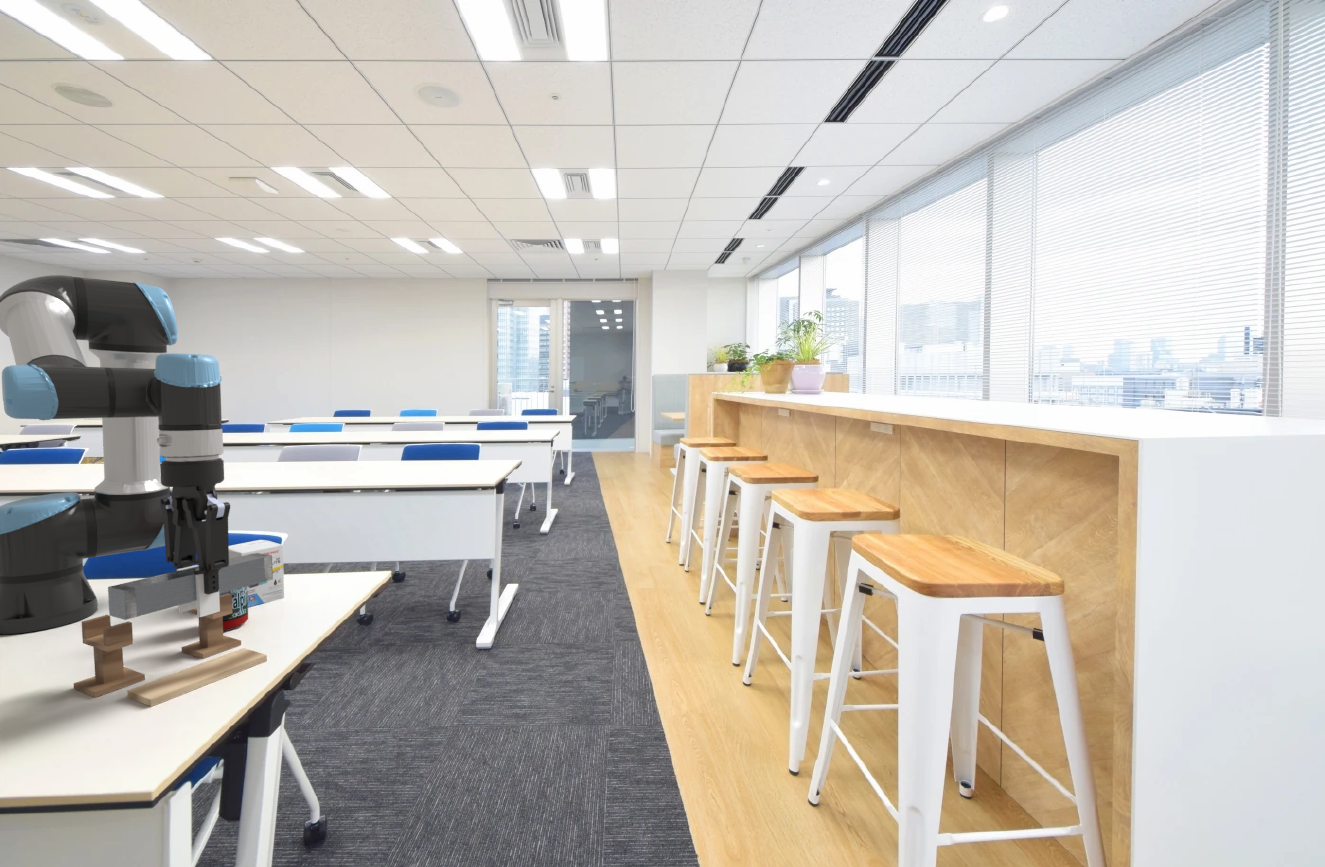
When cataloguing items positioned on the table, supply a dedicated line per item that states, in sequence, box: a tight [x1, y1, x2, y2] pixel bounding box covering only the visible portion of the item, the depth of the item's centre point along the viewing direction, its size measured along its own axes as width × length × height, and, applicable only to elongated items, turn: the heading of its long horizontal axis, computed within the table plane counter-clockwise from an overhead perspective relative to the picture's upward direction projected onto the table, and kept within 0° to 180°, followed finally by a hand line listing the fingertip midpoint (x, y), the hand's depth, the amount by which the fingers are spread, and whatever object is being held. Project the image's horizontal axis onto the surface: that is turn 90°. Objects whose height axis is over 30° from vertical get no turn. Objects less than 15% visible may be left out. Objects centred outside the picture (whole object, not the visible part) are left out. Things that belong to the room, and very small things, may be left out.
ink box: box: [229, 539, 285, 608], centre depth 127 cm, size 8×8×12 cm
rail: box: [107, 553, 273, 621], centre depth 92 cm, size 4×20×4 cm, turn 156°
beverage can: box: [219, 587, 249, 632], centre depth 113 cm, size 7×7×12 cm
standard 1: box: [73, 614, 146, 698], centre depth 90 cm, size 7×6×10 cm
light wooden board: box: [126, 647, 268, 707], centre depth 93 cm, size 6×16×1 cm, turn 156°
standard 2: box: [181, 593, 242, 659], centre depth 103 cm, size 7×6×10 cm
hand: (199, 611), depth 92 cm, fingers closed on rail, 4 cm apart
